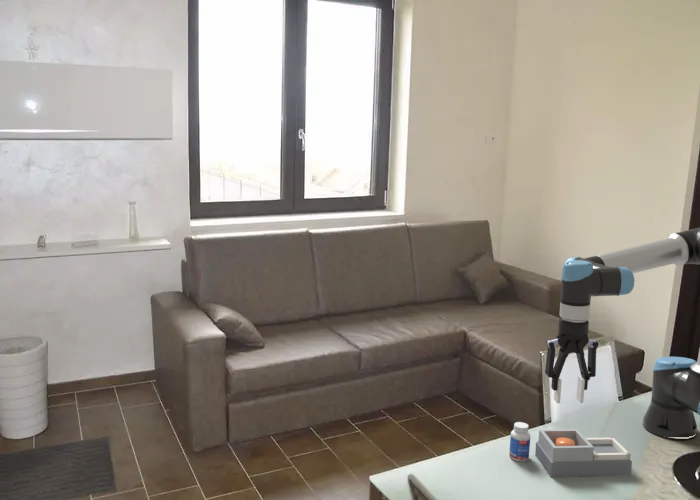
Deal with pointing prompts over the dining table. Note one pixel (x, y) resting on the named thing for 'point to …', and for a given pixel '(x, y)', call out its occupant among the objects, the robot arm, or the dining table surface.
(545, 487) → the dining table surface
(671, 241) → the robot arm
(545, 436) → the grey compartment organizer
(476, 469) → the dining table surface
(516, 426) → the pill bottle
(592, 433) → the dining table surface
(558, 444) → the orange rounded object
